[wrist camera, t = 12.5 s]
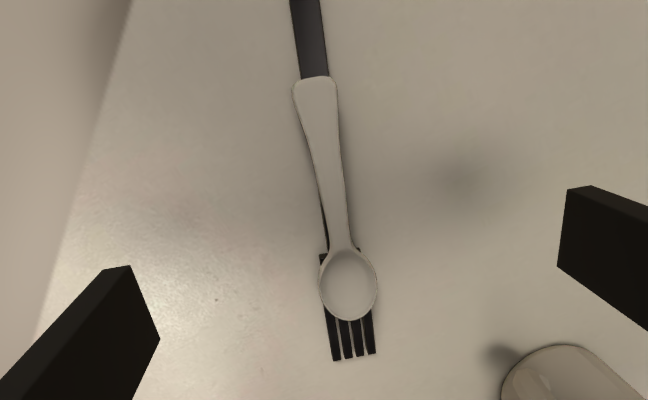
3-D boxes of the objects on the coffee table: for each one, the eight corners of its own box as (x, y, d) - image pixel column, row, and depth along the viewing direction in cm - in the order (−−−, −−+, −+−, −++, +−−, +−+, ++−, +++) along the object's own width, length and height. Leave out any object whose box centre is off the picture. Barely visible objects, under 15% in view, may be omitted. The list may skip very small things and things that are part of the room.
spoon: (323, 312, 18) (327, 336, 16) (277, 85, 15) (275, 82, 13) (376, 301, 19) (386, 323, 17) (342, 74, 15) (350, 69, 13)
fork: (271, -2, 14) (270, -4, 13) (333, -10, 14) (335, -13, 13) (332, 355, 20) (333, 362, 20) (374, 347, 20) (376, 353, 20)
